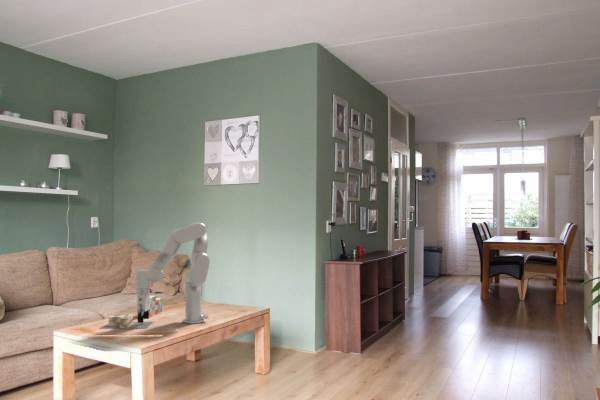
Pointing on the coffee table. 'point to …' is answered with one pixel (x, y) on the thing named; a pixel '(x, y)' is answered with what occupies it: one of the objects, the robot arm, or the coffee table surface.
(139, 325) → the board
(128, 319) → the T block
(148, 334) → the coffee table surface
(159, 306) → the stack of blocks
